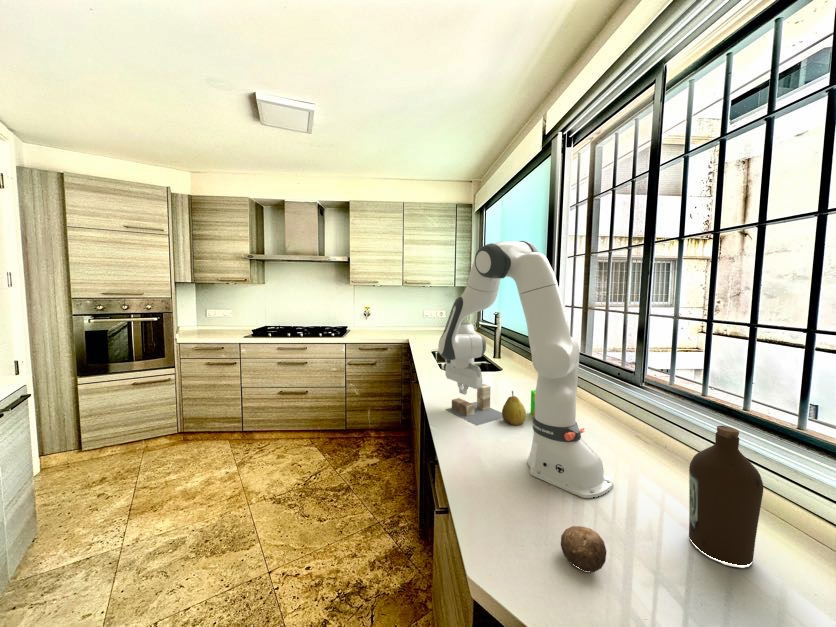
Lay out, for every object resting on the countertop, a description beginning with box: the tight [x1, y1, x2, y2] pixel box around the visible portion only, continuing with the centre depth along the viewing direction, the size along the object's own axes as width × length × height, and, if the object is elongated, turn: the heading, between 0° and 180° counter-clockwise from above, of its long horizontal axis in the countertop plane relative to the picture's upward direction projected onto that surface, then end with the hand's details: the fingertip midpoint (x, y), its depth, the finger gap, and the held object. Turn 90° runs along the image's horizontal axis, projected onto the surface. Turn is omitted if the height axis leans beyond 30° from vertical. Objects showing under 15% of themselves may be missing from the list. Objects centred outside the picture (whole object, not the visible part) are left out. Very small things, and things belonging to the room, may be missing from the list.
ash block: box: [476, 383, 491, 411], centre depth 142 cm, size 4×4×10 cm
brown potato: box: [560, 525, 607, 573], centre depth 63 cm, size 8×8×6 cm
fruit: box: [501, 390, 527, 426], centre depth 127 cm, size 9×9×12 cm
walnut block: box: [451, 397, 474, 416], centre depth 138 cm, size 4×4×10 cm
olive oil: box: [688, 425, 764, 565], centre depth 64 cm, size 11×11×25 cm
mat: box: [445, 401, 503, 426], centre depth 137 cm, size 20×18×1 cm
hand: (462, 393), depth 138 cm, fingers closed
